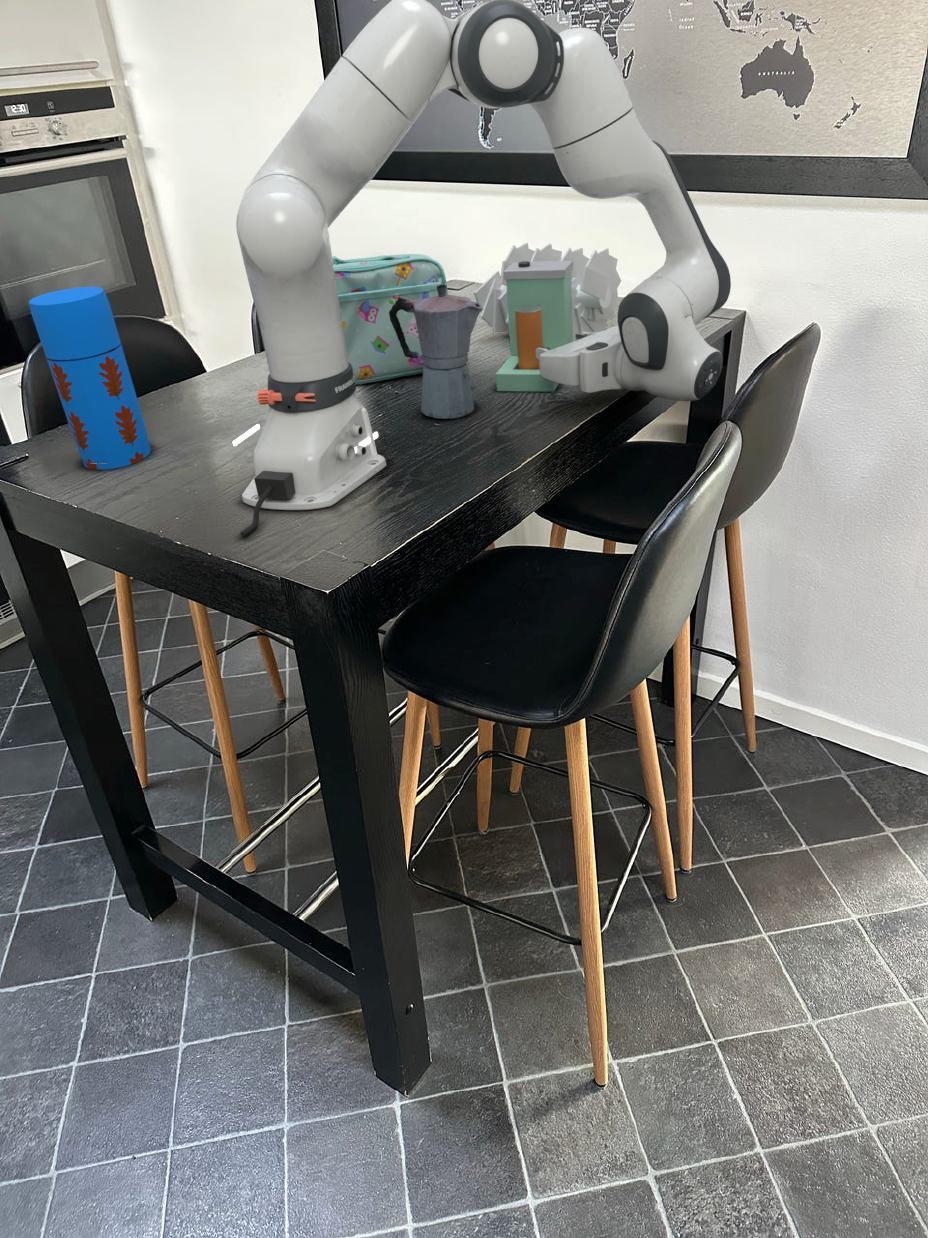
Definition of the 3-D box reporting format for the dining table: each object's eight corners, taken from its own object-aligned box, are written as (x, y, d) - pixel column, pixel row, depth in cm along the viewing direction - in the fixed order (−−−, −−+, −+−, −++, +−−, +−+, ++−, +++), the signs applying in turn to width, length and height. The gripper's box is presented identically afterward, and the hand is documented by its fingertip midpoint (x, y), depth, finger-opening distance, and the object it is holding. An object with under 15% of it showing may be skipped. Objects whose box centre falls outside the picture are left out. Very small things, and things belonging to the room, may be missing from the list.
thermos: (112, 474, 139) (58, 307, 126) (68, 464, 144) (11, 303, 131) (165, 448, 146) (120, 287, 133) (121, 440, 152) (74, 284, 138)
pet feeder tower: (567, 372, 160) (564, 265, 151) (509, 372, 164) (503, 267, 154) (575, 360, 166) (573, 256, 156) (519, 360, 169) (513, 258, 159)
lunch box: (314, 394, 163) (291, 269, 152) (310, 377, 172) (288, 258, 160) (459, 371, 166) (447, 248, 155) (448, 356, 175) (436, 238, 164)
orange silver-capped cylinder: (541, 386, 156) (538, 311, 149) (516, 385, 157) (512, 311, 150) (547, 377, 159) (544, 304, 152) (522, 377, 160) (518, 304, 154)
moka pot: (486, 420, 144) (475, 290, 133) (392, 422, 147) (375, 294, 136) (496, 400, 152) (487, 275, 141) (407, 401, 155) (392, 279, 144)
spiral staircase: (517, 347, 190) (621, 355, 175) (464, 330, 176) (572, 337, 161) (532, 255, 186) (639, 255, 172) (479, 231, 173) (590, 229, 158)
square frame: (553, 391, 153) (553, 374, 151) (496, 391, 156) (495, 373, 154) (566, 372, 161) (565, 355, 159) (511, 372, 163) (510, 355, 162)
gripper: (667, 321, 144) (600, 310, 153) (580, 354, 133) (514, 340, 142) (665, 360, 148) (600, 347, 157) (580, 396, 137) (516, 380, 146)
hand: (558, 344), depth 149 cm, fingers open, 8 cm apart
